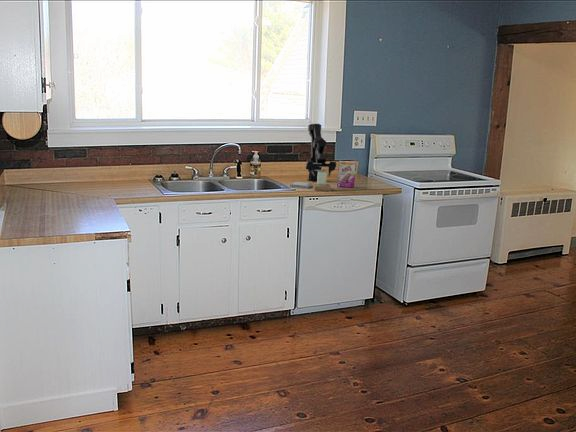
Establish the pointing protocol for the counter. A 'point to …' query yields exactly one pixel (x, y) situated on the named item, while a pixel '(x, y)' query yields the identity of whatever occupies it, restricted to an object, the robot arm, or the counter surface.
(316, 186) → the tan flat block
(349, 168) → the candy bar box
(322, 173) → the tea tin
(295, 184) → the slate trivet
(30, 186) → the counter surface
